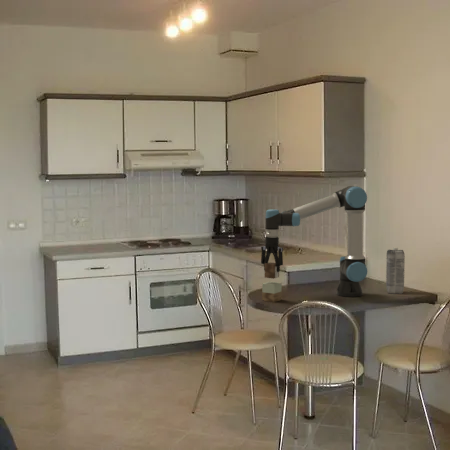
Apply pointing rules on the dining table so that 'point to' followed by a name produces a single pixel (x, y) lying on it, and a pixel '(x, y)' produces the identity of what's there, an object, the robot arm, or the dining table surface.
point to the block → (270, 270)
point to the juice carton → (395, 271)
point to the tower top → (272, 287)
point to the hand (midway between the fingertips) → (271, 276)
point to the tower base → (272, 296)
